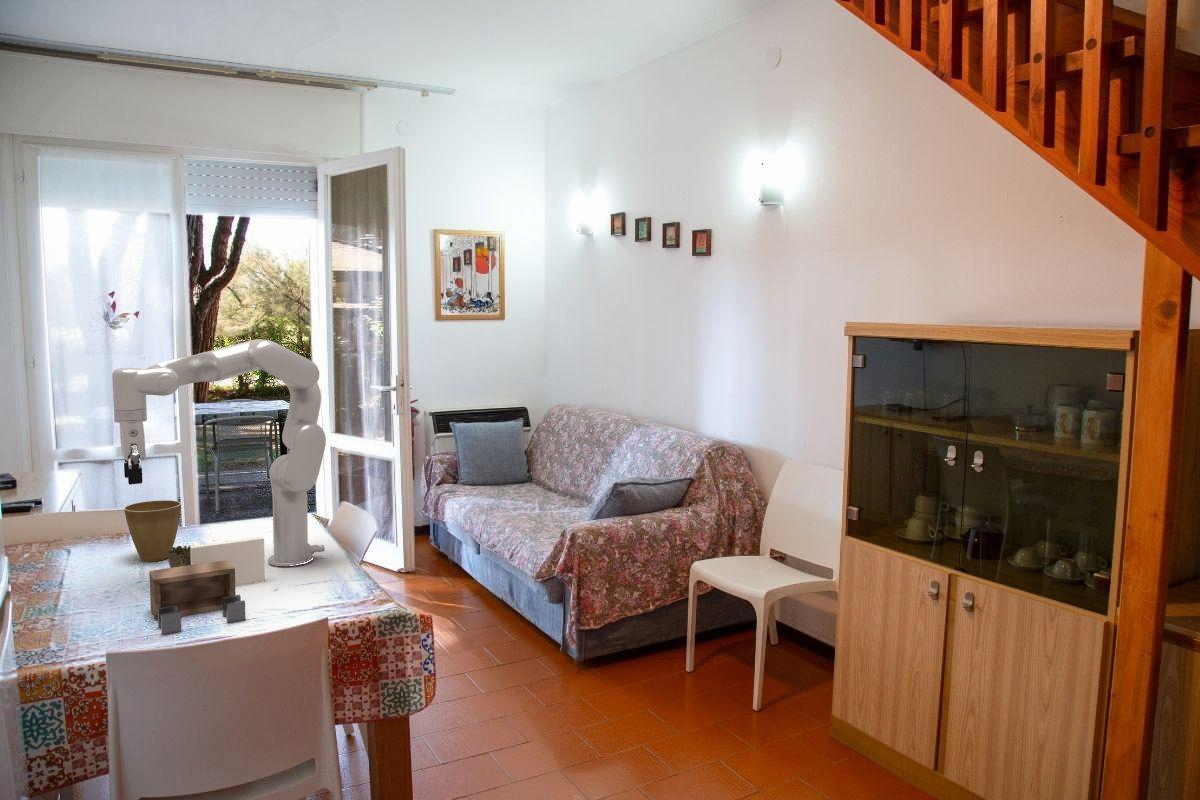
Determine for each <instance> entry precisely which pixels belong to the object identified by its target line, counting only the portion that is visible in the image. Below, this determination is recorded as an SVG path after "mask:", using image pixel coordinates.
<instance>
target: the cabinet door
mask: <svg viewBox="0 0 1200 800" xmlns="http://www.w3.org/2000/svg"><path fill="white" fill-rule="evenodd" d="M189 546H190V553H191V565H195V564H202V563H209V562H216V561H224V560H229V562H230V563H231V564H232V565H233V566H234V568H235V587H236V586H237V585H238V586H245V585H249V583H251V584H256V583H255V582H258V583H262V582H261V581H264V582H265V581H266V575H265V574H266V571H265V570H266V569H265V567H266V566H265V565H266V564H265V538H264V537H263V536H260V537H259V536H258V537H253V538H251V537H250V538H244V539H243V538H242V539H237V540H230V541H229V540H228V541H227V540H226V541H221V542H215V543H214V542H213V543H206V544H197V545H189ZM244 584H245V585H244Z"/></svg>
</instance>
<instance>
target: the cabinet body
mask: <svg viewBox="0 0 1200 800" xmlns="http://www.w3.org/2000/svg"><path fill="white" fill-rule="evenodd" d="M148 571H149V572H148V574H149V595H150V596H149V598H150V600H149V602H150V611H151V613H152V616H153V618H154V620H155V621H158V608H160V607H166V606H172V605H177V610H178V611H180V612H181V617H185V616H190V615H197V614H202V613H203V614H204V613H209V612H214V611H219V610H222V597H228V596H234V595H237V594H236V586H235V568H234V566H233V565H232V564H231V563H230V562H229V560H224V561H216V562H209V563H202V564H195V565H188V566H181V567H173V568H170V567H167V568H161V569H151V570H148Z"/></svg>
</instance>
